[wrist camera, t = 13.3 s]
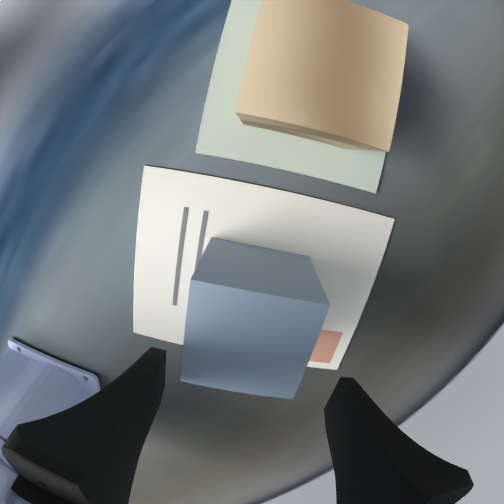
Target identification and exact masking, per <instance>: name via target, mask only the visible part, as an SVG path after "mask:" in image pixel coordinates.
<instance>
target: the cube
mask: <svg viewBox="0 0 504 504" xmlns="http://www.w3.org/2000/svg"><path fill="white" fill-rule="evenodd" d="M329 307H330V303H329V301H328V299H327V296H326V294H325V292H324V289H323V287H322V285H321V282H320V280H319V278H318V275H317V273H316V271H315V269H314V266H313V264H312V262H311V260H310V257H309V256H305V255H300V254H295V253H290V252H285V251H280V250H275V249H269V248H264V247H259V246H254V245H249V244H244V243H239V242H234V241H229V240H223V239H218V238H213V237H211V239H210V241H209V243H208V245H207V247H206V249H205V251H204V253H203V255H202V257H201V259H200V261H199V263H198V265H197V267H196V269H195V271H194V273H193V275H192V277H191V279H190V287H189V296H188V304H187V313H186V322H185V332H184V342H183V353H182V365H181V377H180V381H182V382H187V383H191V384H196V385H201V386H206V387H211V388H217V389H222V390H228V391H234V392H240V393H247V394H254V395H261V396H269V397H277V398H286V399H293V398H294V396H295V393H296V391H297V389H298V386H299V384H300V382H301V379H302V377H303V375H304V372H305V370H306V367H307V365H308V362H309V360H310V357H311V355H312V352H313V350H314V347H315V345H316V342H317V340H318V337H319V334H320V332H321V329H322V326H323V324H324V321H325V318H326V315H327V312H328V310H329Z"/></svg>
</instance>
